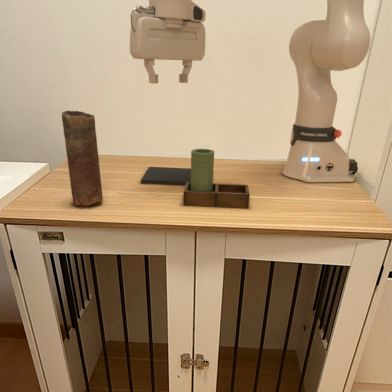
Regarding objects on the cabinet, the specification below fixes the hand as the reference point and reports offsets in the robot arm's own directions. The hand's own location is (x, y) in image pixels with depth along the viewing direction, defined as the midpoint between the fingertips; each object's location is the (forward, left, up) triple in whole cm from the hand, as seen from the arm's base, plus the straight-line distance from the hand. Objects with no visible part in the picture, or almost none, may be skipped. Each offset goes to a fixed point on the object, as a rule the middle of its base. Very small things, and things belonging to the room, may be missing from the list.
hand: (168, 83), depth 99 cm
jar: (-9, +9, -25) cm, 28 cm away
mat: (-1, -13, -25) cm, 28 cm away
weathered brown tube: (+19, +15, -25) cm, 35 cm away
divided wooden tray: (-13, +9, -25) cm, 30 cm away
